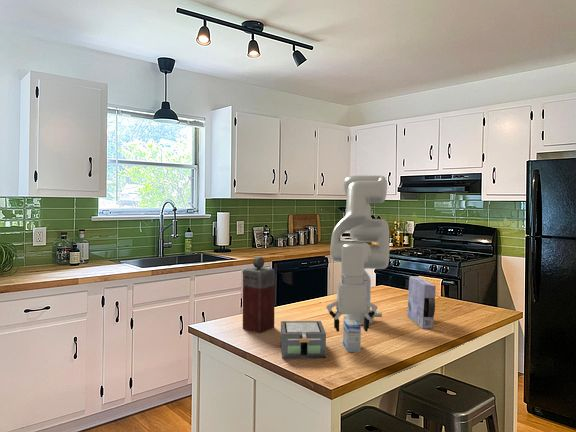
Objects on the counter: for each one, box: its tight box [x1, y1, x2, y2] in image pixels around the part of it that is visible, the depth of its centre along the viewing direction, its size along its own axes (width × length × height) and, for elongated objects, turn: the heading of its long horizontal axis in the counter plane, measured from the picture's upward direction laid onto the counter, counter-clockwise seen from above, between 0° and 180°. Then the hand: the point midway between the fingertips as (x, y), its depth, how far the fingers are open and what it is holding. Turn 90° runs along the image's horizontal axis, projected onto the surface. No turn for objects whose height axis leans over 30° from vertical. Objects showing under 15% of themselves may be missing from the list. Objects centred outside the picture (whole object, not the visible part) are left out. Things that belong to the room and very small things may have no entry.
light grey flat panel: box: [286, 322, 320, 339], centre depth 146 cm, size 11×14×1 cm
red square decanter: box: [242, 256, 276, 334], centre depth 172 cm, size 9×11×28 cm
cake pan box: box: [406, 275, 437, 330], centre depth 181 cm, size 19×5×18 cm, turn 4°
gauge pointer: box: [299, 338, 309, 342], centre depth 140 cm, size 3×1×1 cm, turn 92°
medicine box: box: [342, 320, 362, 353], centre depth 150 cm, size 8×4×9 cm, turn 5°
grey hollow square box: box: [280, 320, 327, 360], centre depth 148 cm, size 14×14×8 cm
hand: (351, 330), depth 150 cm, fingers open, 9 cm apart
